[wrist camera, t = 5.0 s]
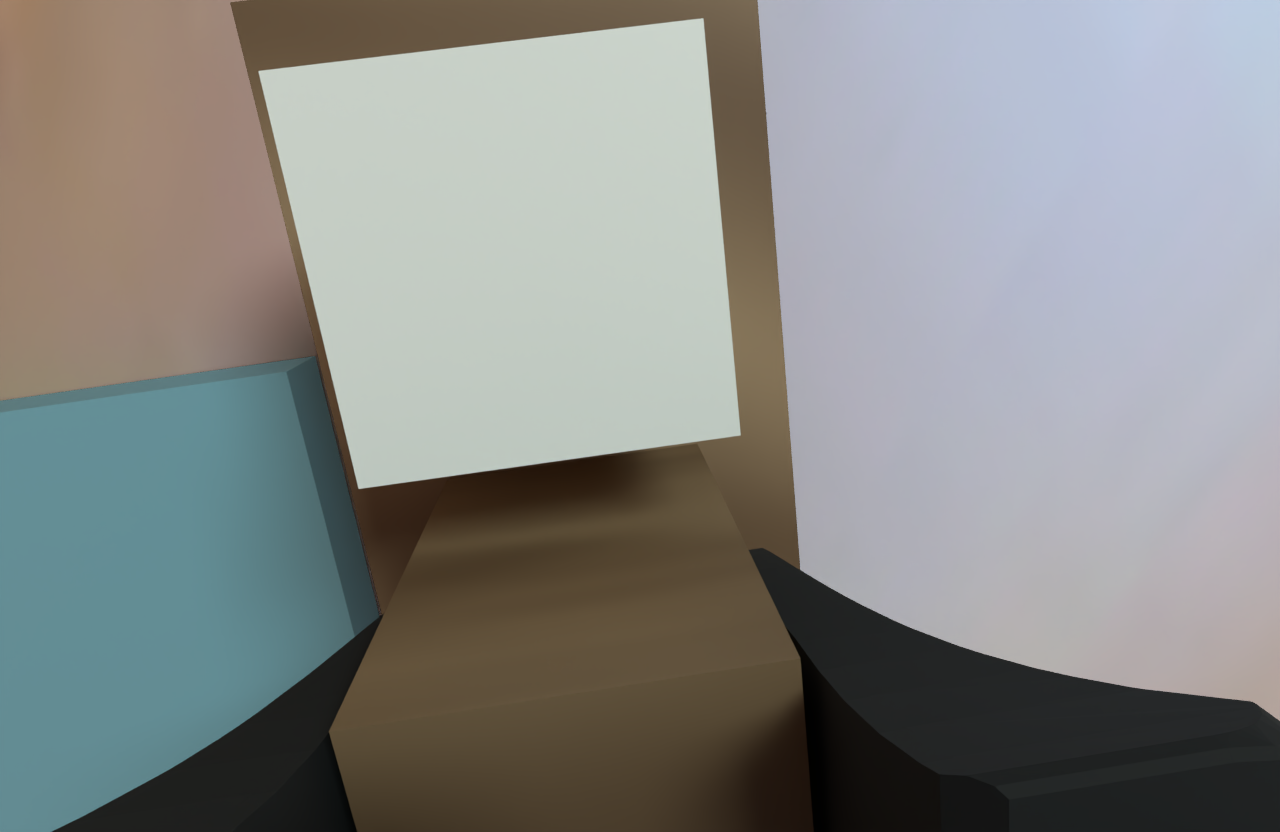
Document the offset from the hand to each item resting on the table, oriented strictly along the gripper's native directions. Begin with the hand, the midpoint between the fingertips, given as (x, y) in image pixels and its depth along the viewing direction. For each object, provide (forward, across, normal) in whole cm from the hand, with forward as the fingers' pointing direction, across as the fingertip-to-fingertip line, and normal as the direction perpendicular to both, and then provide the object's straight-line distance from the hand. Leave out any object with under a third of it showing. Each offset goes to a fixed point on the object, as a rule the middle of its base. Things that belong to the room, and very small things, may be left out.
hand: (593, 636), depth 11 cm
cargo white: (+2, 0, -6) cm, 6 cm away
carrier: (+4, 0, 0) cm, 4 cm away
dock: (+10, +12, +7) cm, 17 cm away
